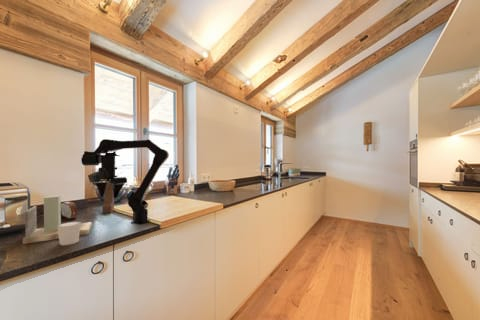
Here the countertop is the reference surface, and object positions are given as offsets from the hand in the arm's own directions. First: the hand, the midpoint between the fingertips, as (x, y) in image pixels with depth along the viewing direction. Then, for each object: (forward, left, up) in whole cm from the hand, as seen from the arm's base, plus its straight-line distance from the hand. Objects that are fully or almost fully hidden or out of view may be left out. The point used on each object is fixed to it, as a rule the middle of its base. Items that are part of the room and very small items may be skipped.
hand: (108, 197), depth 101 cm
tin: (+31, 0, -13) cm, 34 cm away
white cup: (-7, +21, -13) cm, 26 cm away
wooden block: (+22, -16, -13) cm, 30 cm away
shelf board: (+6, +17, -13) cm, 22 cm away
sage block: (+9, +18, -11) cm, 23 cm away
